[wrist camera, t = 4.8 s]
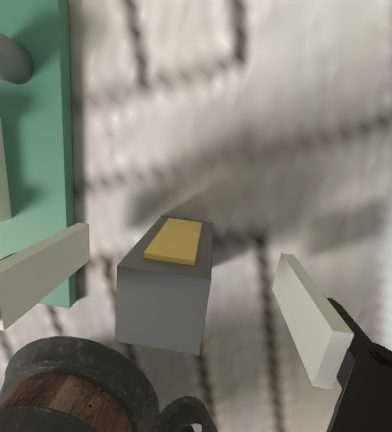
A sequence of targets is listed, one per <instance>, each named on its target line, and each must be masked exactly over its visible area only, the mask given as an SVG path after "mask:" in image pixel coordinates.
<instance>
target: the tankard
mask: <svg viewBox="0 0 392 432" xmlns="http://www.w3.org/2000/svg"><path fill="white" fill-rule="evenodd" d="M194 423H197V424H201V425H202V432H217V429H216V427H215V425H214V423H213V421H212V419H211V417H210V415H209V413H208V411H207V409H206V408H205V406H204V404H203V403H202V402H201V401H199V400H198V399H197V398H196V397H188V396H185V397H182V398H179V399H176V400H175V401H173V402H172V403H170V404H169V405H167V406H166V407H165V409H164V410H163V411H162V412H161V413H160V414H159V405H158V399H157V396H156V394H155V391H154V389H153V387H152V385H151V384H150V382H149V381H148V379H147V378H146V376H145V375H144V374H143V373H142V372H141V371H140V370H139V368H138V367H137V366H136V365H135V364H134V363H132V362H131V361H130V360H128V359H127V358H126V357H124V356H123V355H121V354H120V353H118V352H117V351H115V350H113V349H111V348H109V347H107V346H105V345H102V344H99V343H97V342H94V341H91V340H88V339H82V338H76V337H66V336H54V337H49V338H43V339H39V340H36V341H34V342H31V343H29V344H27V345H25V346H24V347H23V348H21V349H20V350H18V351H17V352H16V353H15V355H14V356H13V357H12V358H11V360H10V361H9V364H8V366H7V369H6V371H5V380H4V384H3V386H2V389H1V391H0V432H194V430H193V428H192V426H191V424H194Z"/></svg>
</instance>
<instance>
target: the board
mask: <svg viewBox="0 0 392 432" xmlns="http://www.w3.org/2000/svg"><path fill="white" fill-rule="evenodd" d="M73 225H75V223H74V187H73V151H72V115H71V79H70V43H69V6H68V1H67V0H0V259H1V260H2V258H4V257H6V256H8V255H10V254H13V253H16V252H19V251H21V250H23V249H25V248H27V247H30V246H32V245H34V244H36V243H38V242H40V241H42V240H44V239H46V238H48V237H50V236H52V235H54V234H56V233H58V232H60V231H62V230H64V229H66V228H68V227H70V226H73ZM76 301H77V296H76V272H75V273H73V274H72V275H71V276H70V277H69V278H67V279H66V280H65V281H64V282H63V283H61V284H60V285H59V286H58V287H56V288H55V289H54V290H53V291H52V292H50V293H49V294H48V295H47V296H46V297H44V298H43V299H42V300H41V301H40V302H38V303H41V304H46V305H52V306H58V307H64V308H70V307H71V306H72V305H73V304H74V303H75V302H76Z"/></svg>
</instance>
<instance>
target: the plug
mask: <svg viewBox="0 0 392 432" xmlns="http://www.w3.org/2000/svg"><path fill="white" fill-rule="evenodd" d="M212 233H213V223H207V222H200V221H193V220H186V219H179V218H172V217H165V216H161V217H160V218H159V219H158V220H157V221H156V223H155V224H154V225H153V226H152V227H151V228H150V229H149V230H148V232H147V233H146V234H145V235H144V236H143V237H142V238H141V239H140V241H139V242H138V243H137V244H136V245H135V246H134V247H133V248H132V250H131V251H130V252H129V253H128V254H127V255H126V256H125V257H124V259H123V260H122V261H121V262H120V263H119V264H118V265H117V293H116V327H115V341H116V342H122V343H128V344H134V345H140V346H146V347H151V348H157V349H163V350H169V351H175V352H181V353H186V354H192V355H198V356H199V353H200V346H201V340H202V334H203V328H204V322H205V316H206V309H207V303H208V297H209V291H210V285H211V270H212Z"/></svg>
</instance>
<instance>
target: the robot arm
mask: <svg viewBox="0 0 392 432" xmlns="http://www.w3.org/2000/svg"><path fill="white" fill-rule="evenodd" d="M88 261H89V224H84V223H77V224H75V225H73V226H70V227H68V228H66V229H64V230H62V231H60V232H58V233H56V234H54V235H52V236H50V237H48V238H46V239H44V240H42V241H40V242H38V243H36V244H34V245H32V246H30V247H27V248H25V249H23V250H21V251H19V252H16V253H13V254H10V255H8V256H6V257H4V258H2V260H1V259H0V330H2V331H5V330H6V329H7V328H8V327H9V326H11V325H12V324H13V323H14V322H15V321H17V320H18V319H19V318H20V317H21V316H23V315H24V314H25V313H26V312H27V311H29V310H30V309H31V308H32V307H34V306H35V305H36V304H37V303H38V302H40V301H41V300H42V299H43V298H44V297H46V296H47V295H48V294H49V293H50V292H52V291H53V290H54V289H55V288H56V287H58V286H59V285H60V284H61V283H63V282H64V281H65V280H66V279H67V278H69V277H70V276H71V275H72V274H73V273H75V272H76V271H77V270H78V269H79V268H81V267H82V266H83V265H84V264H85V263H87V262H88ZM272 290H273V292H274V295H275V297H276V300H277V302H278V304H279V307H280V309H281V312H282V314H283V316H284V319H285V321H286V324H287V326H288V328H289V331H290V333H291V336H292V338H293V340H294V343H295V345H296V348H297V350H298V352H299V355H300V357H301V360H302V362H303V364H304V367H305V369H306V372H307V374H308V376H309V379H310V381H311V384H312V386H313V387H319V388H324V389H330V390H332V389H333V386H334V384H335V381H336V379H338V381H339V383H340V385H341V387H342V391H341V394H340V396H339V399H338V401H337V403H336V406H335V408H334V413H333V415H332V418H331V421H330V424H329V426H328V429H327V432H392V351H390V350H388V349H387V348H385V347H383V346H381V345H379V344H376V343H372V342H371V340H370V339H369V338H368V337H367V336H366V334H365V333H364V332H363V331H362V330H361V328H360V327H359V326H358V325H357V324H356V322H354V320H353V319H352V318H351V316H350V315H348V313H347V312H346V310H345V309H344V308H343V307H342V306H341V305H340V304H339V303H337V302H336V301H335V300H333V299H331V298H326V297H325V296H324V294H323V293H322V292H321V290H320V289H319V288H318V286H317V285H316V284H315V283H314V281H313V280H312V279H311V277H310V276H309V275H308V273H307V272H306V271H305V270H304V268H303V267H302V266H301V264H300V263H299V262H298V261H297V259H296V258H295V257H294V255H291V254H284V253H281V256H280V260H279V264H278V268H277V272H276V276H275V280H274V284H273V288H272Z"/></svg>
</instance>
